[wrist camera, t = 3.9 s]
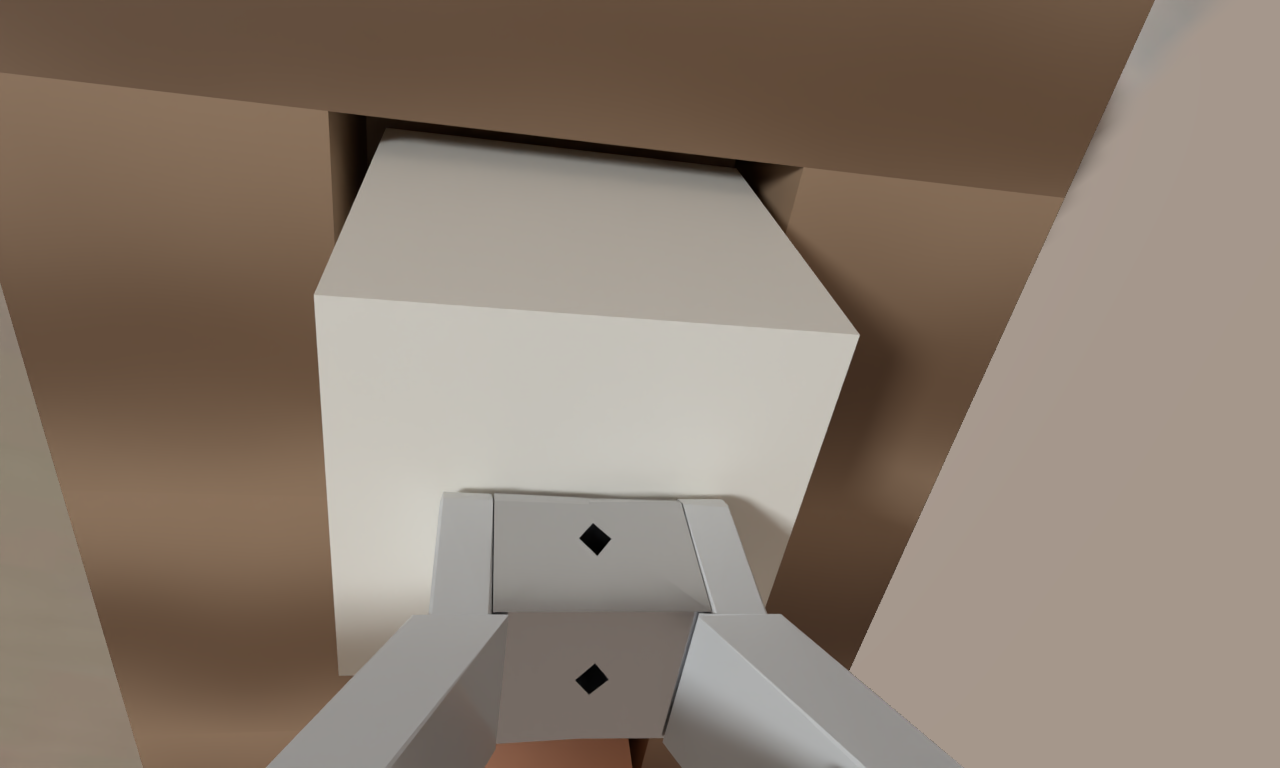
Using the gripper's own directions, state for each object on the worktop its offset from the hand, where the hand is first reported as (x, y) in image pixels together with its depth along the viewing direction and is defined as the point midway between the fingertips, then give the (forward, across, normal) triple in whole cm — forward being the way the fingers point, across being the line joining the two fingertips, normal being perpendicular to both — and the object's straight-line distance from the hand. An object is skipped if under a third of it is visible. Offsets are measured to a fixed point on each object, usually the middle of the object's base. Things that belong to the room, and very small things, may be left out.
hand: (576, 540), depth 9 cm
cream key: (+5, 0, 0) cm, 5 cm away
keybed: (+8, 0, +6) cm, 10 cm away
